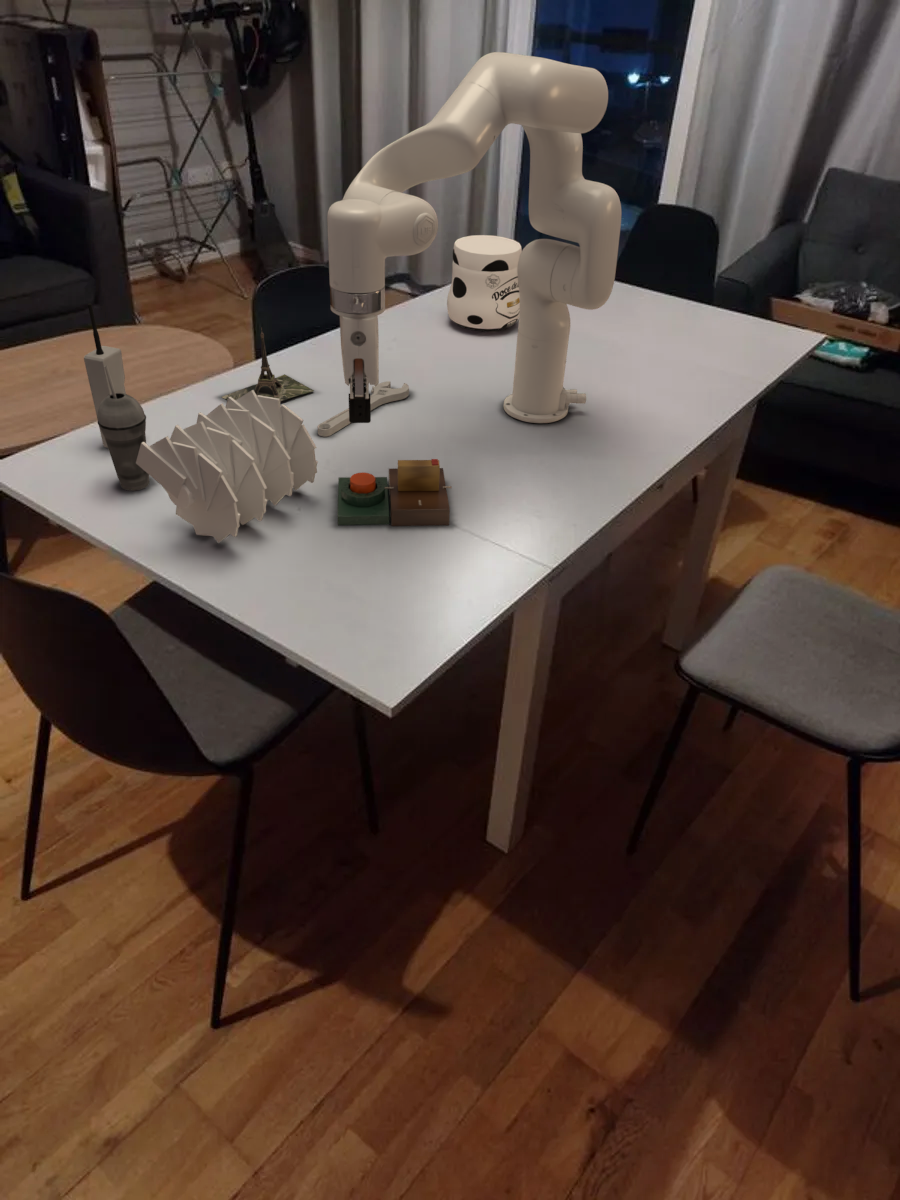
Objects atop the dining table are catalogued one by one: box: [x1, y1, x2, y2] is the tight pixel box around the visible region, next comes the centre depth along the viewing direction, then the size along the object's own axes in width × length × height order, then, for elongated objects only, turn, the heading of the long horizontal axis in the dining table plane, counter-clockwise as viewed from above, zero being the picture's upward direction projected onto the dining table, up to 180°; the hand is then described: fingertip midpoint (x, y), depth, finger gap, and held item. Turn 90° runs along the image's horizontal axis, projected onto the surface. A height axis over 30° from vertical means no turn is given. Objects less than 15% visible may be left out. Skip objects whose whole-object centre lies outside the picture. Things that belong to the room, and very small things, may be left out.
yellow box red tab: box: [397, 458, 441, 491], centre depth 139 cm, size 6×2×5 cm, turn 95°
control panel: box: [385, 467, 453, 527], centre depth 142 cm, size 13×11×3 cm
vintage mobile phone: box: [83, 302, 127, 449], centre depth 147 cm, size 4×5×25 cm
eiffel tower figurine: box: [221, 326, 315, 402], centre depth 169 cm, size 15×10×13 cm
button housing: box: [336, 476, 390, 526], centre depth 141 cm, size 12×8×4 cm, turn 5°
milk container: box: [446, 234, 523, 332], centre depth 202 cm, size 17×17×18 cm
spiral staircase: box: [136, 390, 319, 544], centre depth 134 cm, size 18×18×25 cm
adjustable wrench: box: [316, 380, 410, 438], centre depth 168 cm, size 25×6×2 cm, turn 142°
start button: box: [349, 472, 376, 494], centre depth 140 cm, size 4×4×2 cm
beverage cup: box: [97, 365, 150, 492], centre depth 138 cm, size 7×7×20 cm
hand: (359, 420), depth 133 cm, fingers closed
